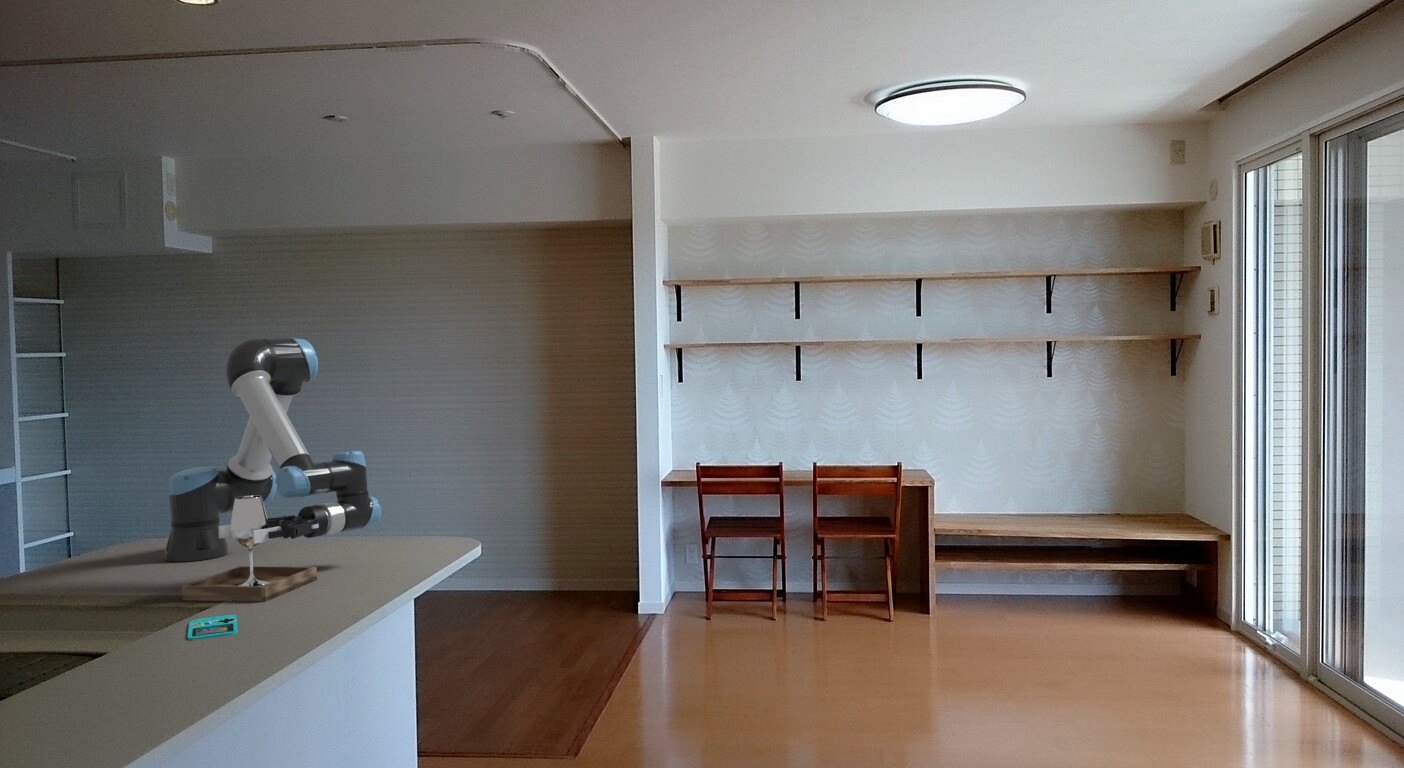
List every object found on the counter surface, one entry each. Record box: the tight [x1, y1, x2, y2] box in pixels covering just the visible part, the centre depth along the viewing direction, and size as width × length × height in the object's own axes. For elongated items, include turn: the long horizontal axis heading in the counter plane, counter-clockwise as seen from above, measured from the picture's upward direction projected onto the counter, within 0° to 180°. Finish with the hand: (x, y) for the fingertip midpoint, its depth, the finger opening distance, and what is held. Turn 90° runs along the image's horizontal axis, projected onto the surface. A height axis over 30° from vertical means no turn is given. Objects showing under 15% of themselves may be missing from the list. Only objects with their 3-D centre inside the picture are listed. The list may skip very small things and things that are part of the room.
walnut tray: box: [181, 565, 318, 602], centre depth 222 cm, size 20×20×3 cm
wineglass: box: [230, 495, 270, 586], centre depth 222 cm, size 8×8×20 cm
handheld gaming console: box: [187, 614, 238, 640], centre depth 190 cm, size 8×1×15 cm
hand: (235, 534), depth 219 cm, fingers open, 13 cm apart
